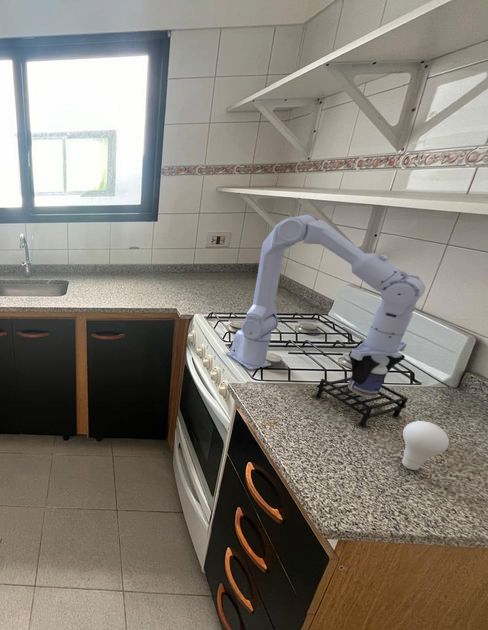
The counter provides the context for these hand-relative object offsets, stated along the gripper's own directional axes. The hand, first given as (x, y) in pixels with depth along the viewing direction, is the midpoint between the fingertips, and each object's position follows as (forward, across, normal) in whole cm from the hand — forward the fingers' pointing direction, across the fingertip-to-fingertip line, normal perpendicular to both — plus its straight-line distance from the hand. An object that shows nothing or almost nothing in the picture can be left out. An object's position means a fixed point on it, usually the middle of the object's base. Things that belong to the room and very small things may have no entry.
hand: (366, 379), depth 83 cm
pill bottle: (+4, 0, 0) cm, 4 cm away
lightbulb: (+8, -9, -17) cm, 21 cm away
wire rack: (+8, 0, 0) cm, 8 cm away
